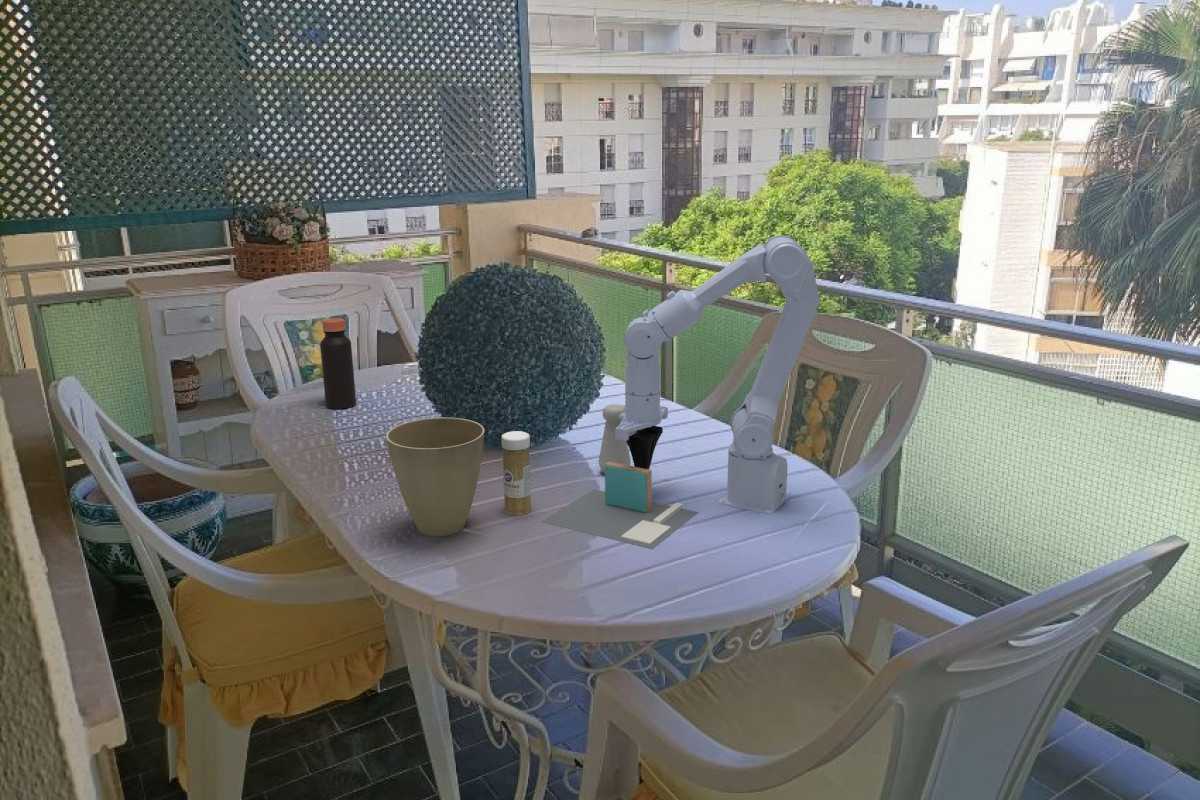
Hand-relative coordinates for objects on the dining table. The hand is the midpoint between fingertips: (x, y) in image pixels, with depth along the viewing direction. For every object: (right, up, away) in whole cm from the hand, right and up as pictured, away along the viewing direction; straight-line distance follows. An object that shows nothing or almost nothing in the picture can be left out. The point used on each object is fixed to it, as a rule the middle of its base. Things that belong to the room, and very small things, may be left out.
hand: (642, 469), depth 153 cm
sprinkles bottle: (-21, -7, -3) cm, 22 cm away
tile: (-3, -6, -3) cm, 7 cm away
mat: (-4, -8, -6) cm, 11 cm away
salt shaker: (-4, -2, +13) cm, 14 cm away
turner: (+2, -8, -10) cm, 13 cm away
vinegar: (-67, +10, +57) cm, 88 cm away
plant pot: (-32, -9, -9) cm, 35 cm away
